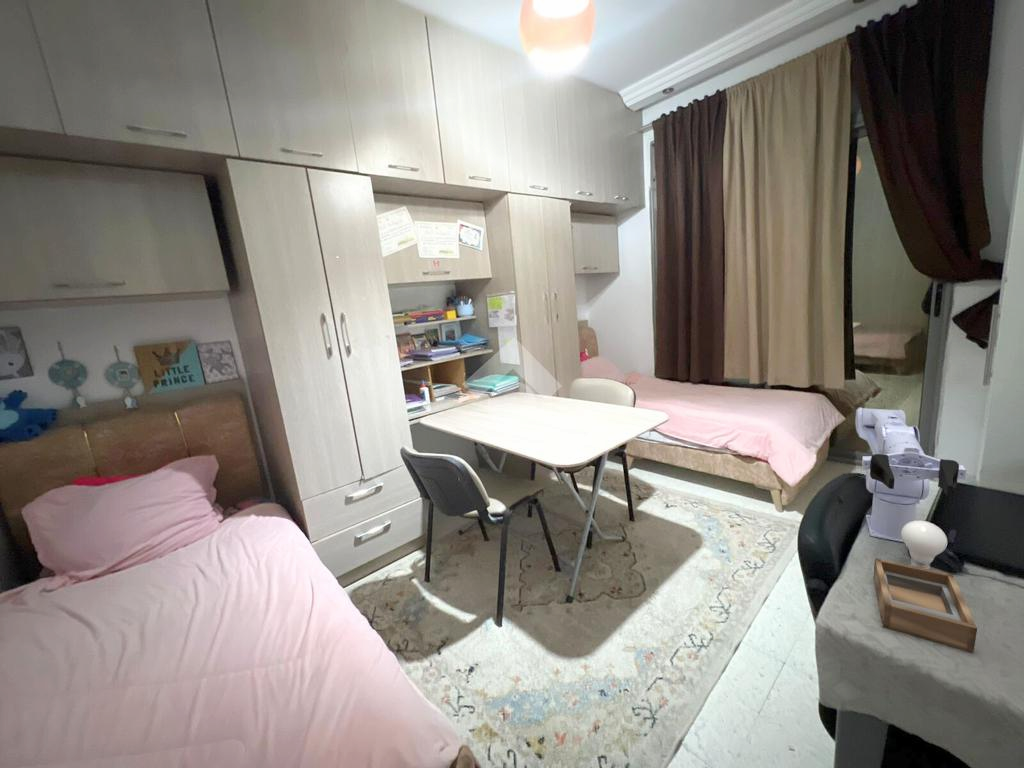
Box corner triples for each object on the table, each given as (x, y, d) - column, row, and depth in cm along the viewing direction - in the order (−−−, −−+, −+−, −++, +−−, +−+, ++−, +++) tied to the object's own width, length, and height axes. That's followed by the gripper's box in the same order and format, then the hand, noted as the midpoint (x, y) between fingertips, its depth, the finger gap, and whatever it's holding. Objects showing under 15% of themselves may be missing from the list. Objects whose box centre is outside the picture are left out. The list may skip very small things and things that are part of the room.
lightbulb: (951, 584, 78) (958, 532, 76) (911, 583, 80) (917, 531, 77) (926, 563, 84) (932, 514, 82) (889, 562, 86) (894, 513, 83)
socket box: (873, 578, 82) (875, 557, 81) (949, 596, 76) (952, 574, 75) (882, 627, 71) (885, 604, 70) (973, 653, 65) (977, 628, 64)
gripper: (861, 434, 89) (868, 461, 78) (958, 441, 80) (981, 473, 70) (859, 464, 90) (866, 495, 80) (953, 474, 82) (976, 510, 72)
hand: (920, 487), depth 75 cm, fingers open, 7 cm apart
